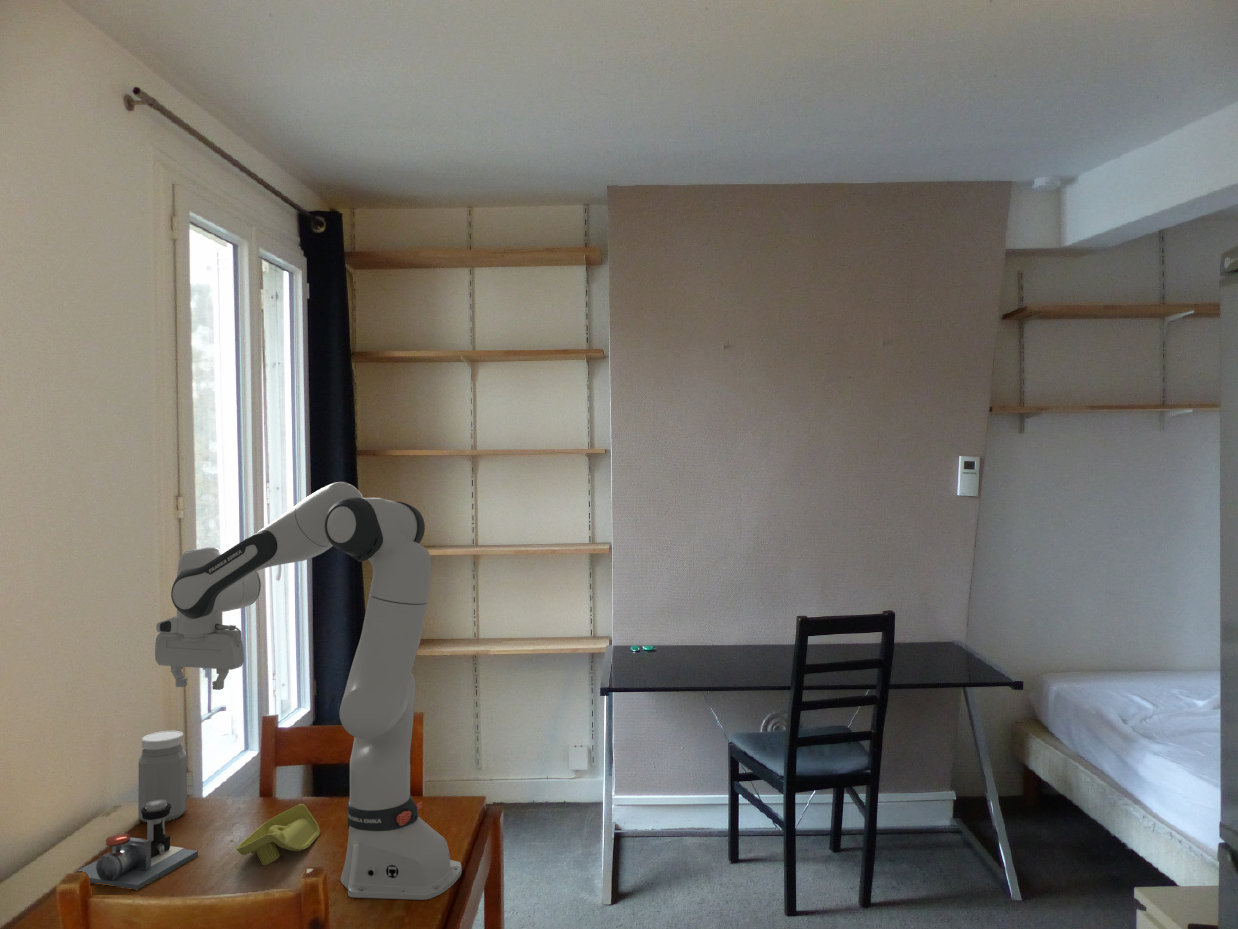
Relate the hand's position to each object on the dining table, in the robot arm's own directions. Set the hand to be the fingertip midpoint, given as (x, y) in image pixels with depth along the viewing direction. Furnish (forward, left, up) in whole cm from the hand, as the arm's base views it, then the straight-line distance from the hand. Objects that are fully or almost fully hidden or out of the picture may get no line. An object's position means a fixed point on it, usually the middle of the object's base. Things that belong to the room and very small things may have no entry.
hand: (199, 688), depth 184 cm
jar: (+15, -6, -31) cm, 35 cm away
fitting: (-1, +21, -30) cm, 37 cm away
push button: (-1, +13, -30) cm, 33 cm away
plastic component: (-22, +3, -31) cm, 38 cm away
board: (0, +17, -31) cm, 35 cm away
